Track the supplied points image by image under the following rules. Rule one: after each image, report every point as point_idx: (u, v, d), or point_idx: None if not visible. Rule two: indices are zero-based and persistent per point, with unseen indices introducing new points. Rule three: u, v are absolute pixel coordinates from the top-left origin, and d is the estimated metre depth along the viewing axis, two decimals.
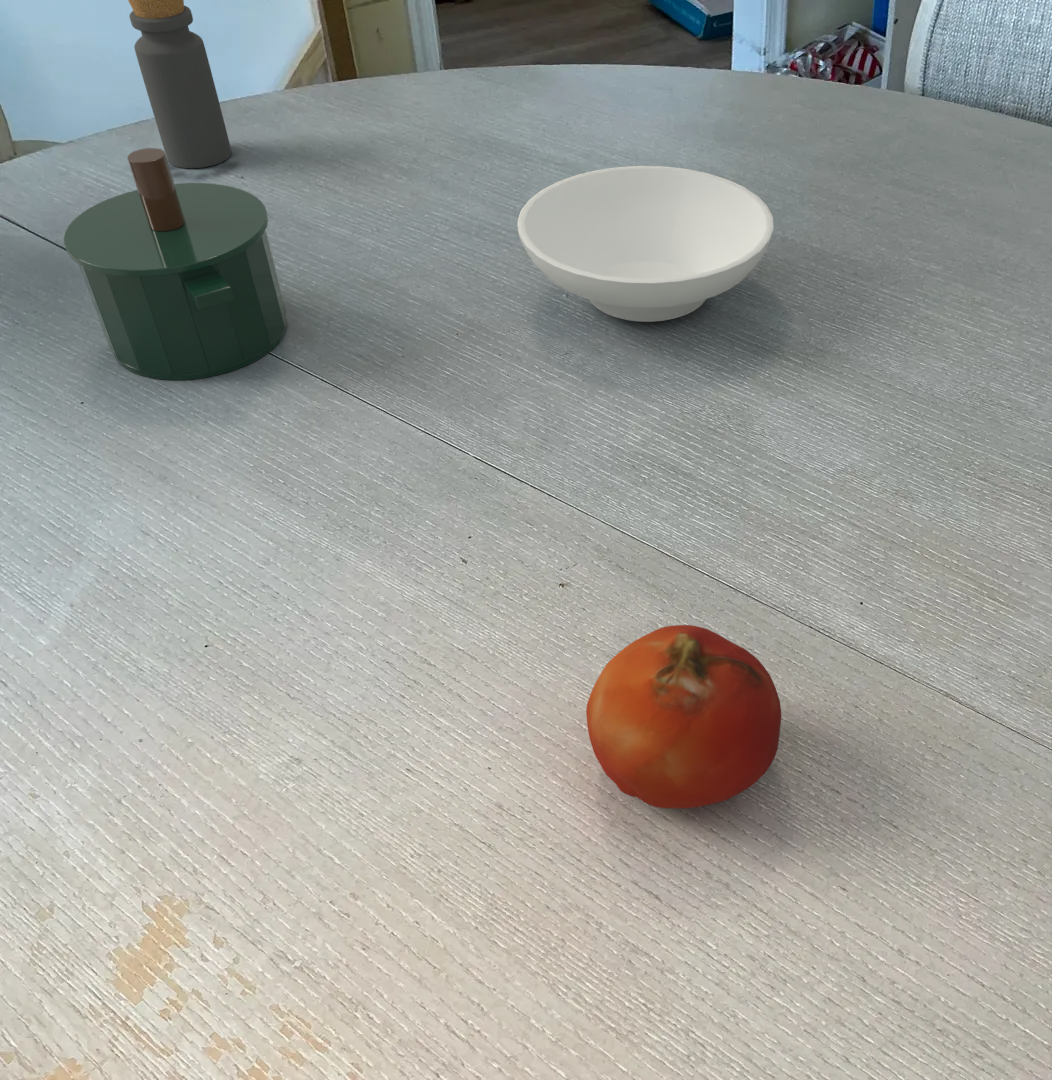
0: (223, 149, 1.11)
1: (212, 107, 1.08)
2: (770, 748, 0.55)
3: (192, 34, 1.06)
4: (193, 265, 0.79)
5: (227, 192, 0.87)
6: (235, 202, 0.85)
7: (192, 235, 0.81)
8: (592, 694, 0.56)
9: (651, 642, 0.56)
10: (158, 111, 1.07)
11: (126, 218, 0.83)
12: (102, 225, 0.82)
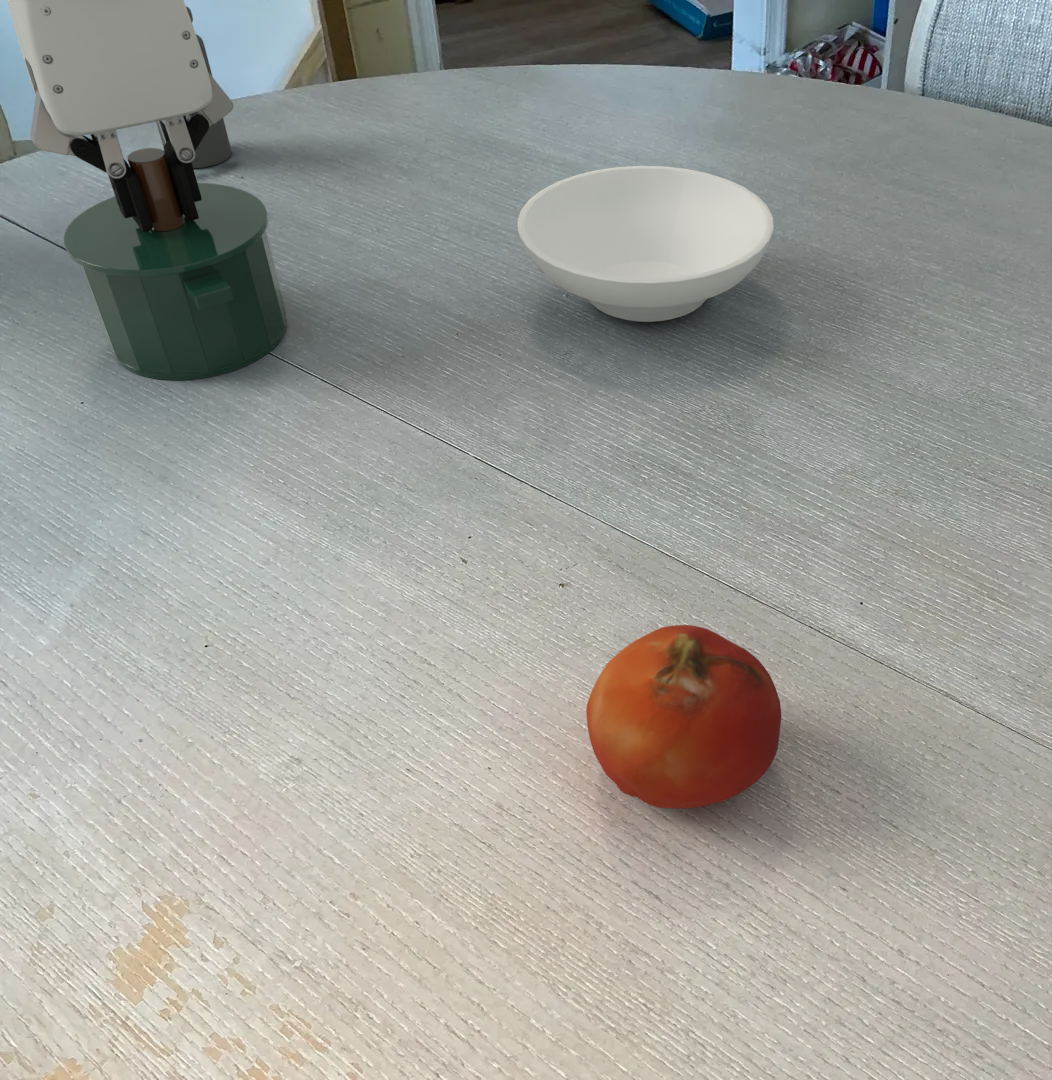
0: (223, 149, 1.11)
1: None
2: (770, 748, 0.55)
3: None
4: (193, 265, 0.79)
5: (227, 192, 0.87)
6: (235, 202, 0.85)
7: (192, 235, 0.81)
8: (592, 694, 0.56)
9: (651, 642, 0.56)
10: None
11: (126, 218, 0.83)
12: (102, 225, 0.82)
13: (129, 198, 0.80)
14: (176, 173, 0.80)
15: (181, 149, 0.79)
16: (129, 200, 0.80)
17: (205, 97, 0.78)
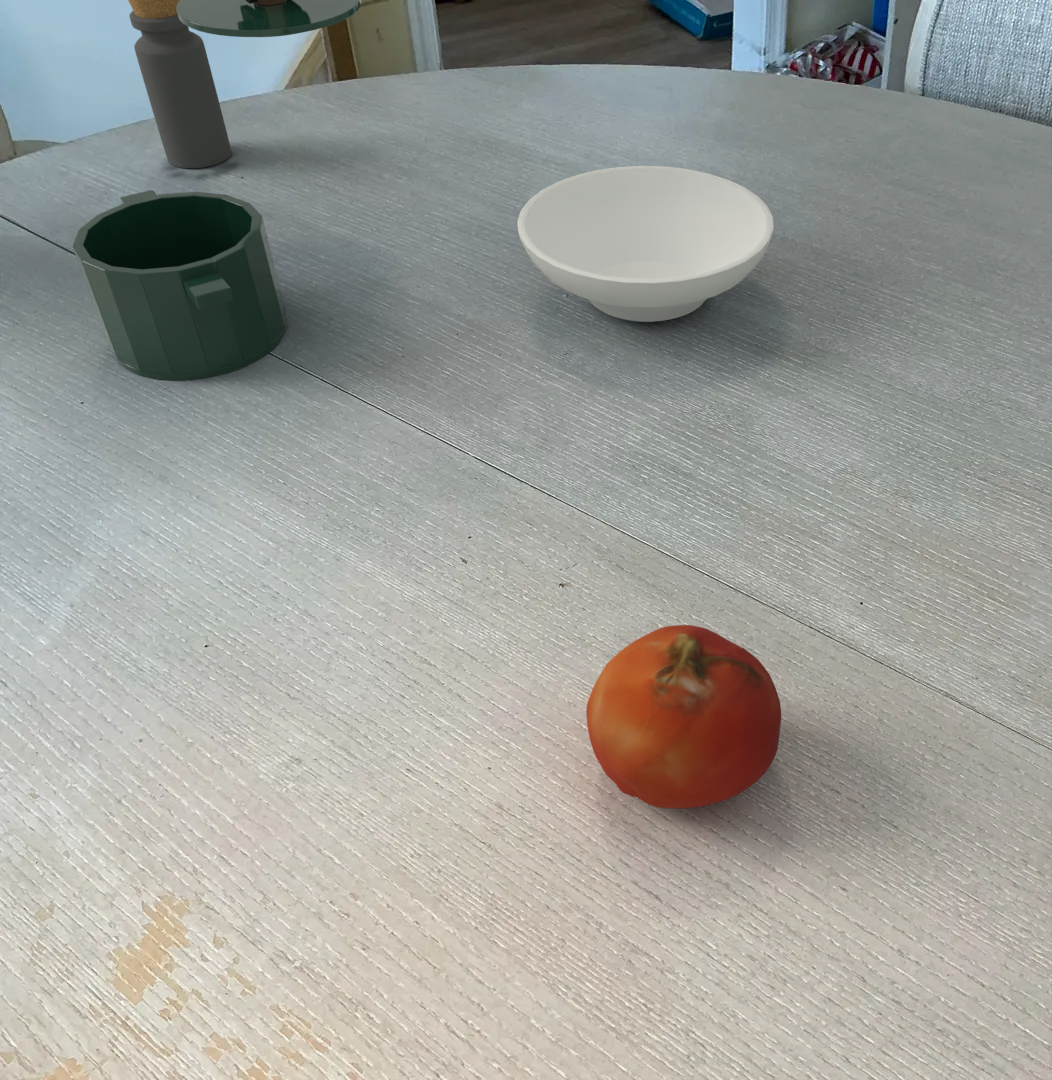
0: (223, 149, 1.11)
1: (212, 107, 1.08)
2: (770, 748, 0.55)
3: (192, 34, 1.06)
4: (298, 28, 0.86)
5: None
6: None
7: (293, 8, 0.88)
8: (592, 694, 0.56)
9: (651, 642, 0.56)
10: (158, 111, 1.07)
11: None
12: (210, 1, 0.89)
13: None
14: None
15: None
16: None
17: None
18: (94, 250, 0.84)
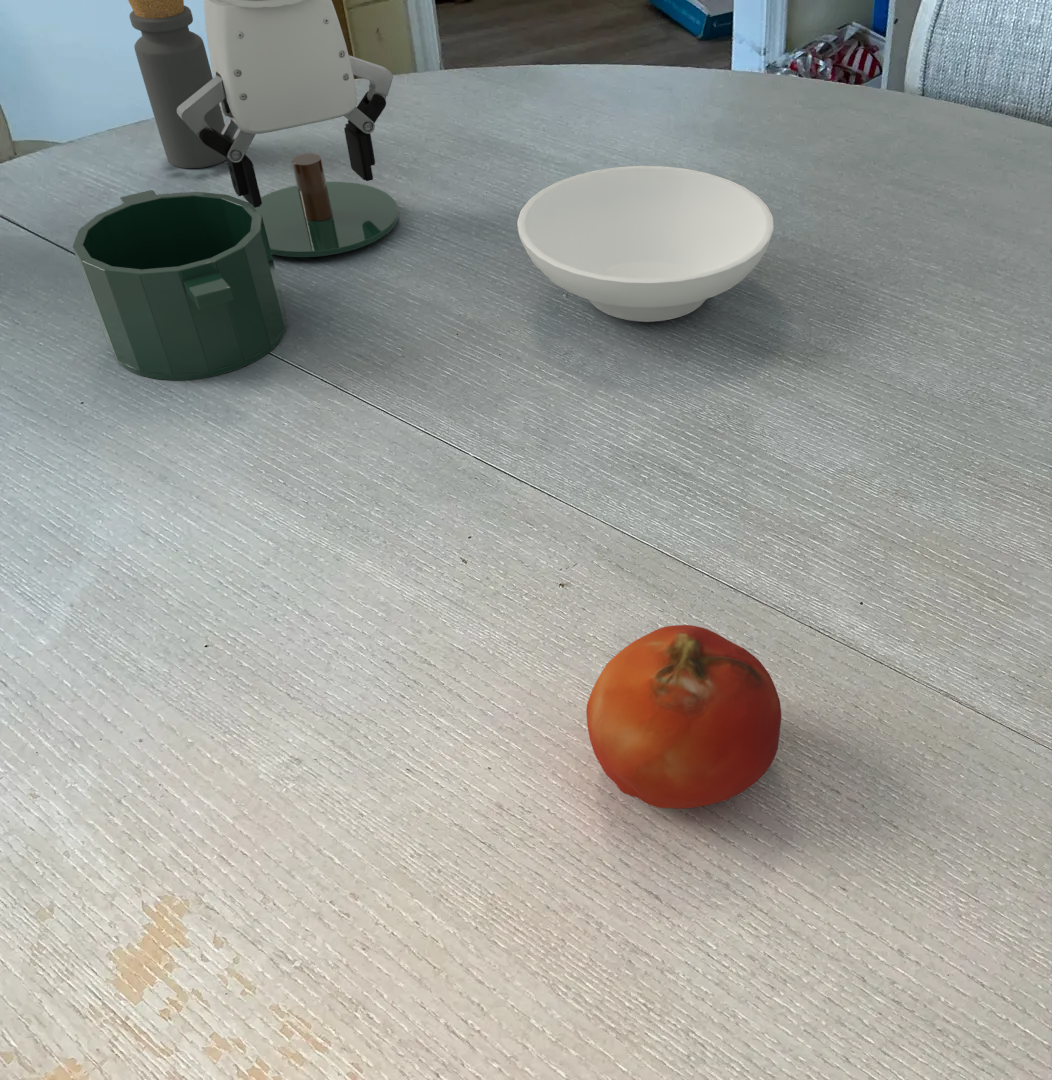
0: None
1: None
2: (770, 748, 0.55)
3: (192, 34, 1.06)
4: (345, 248, 0.97)
5: (362, 189, 1.05)
6: (370, 197, 1.04)
7: (340, 224, 1.00)
8: (592, 694, 0.56)
9: (651, 642, 0.56)
10: (158, 111, 1.07)
11: (284, 210, 1.02)
12: (266, 216, 1.01)
13: (243, 179, 0.95)
14: (359, 142, 0.99)
15: (363, 125, 0.98)
16: (243, 181, 0.95)
17: (352, 104, 0.96)
18: (94, 250, 0.84)
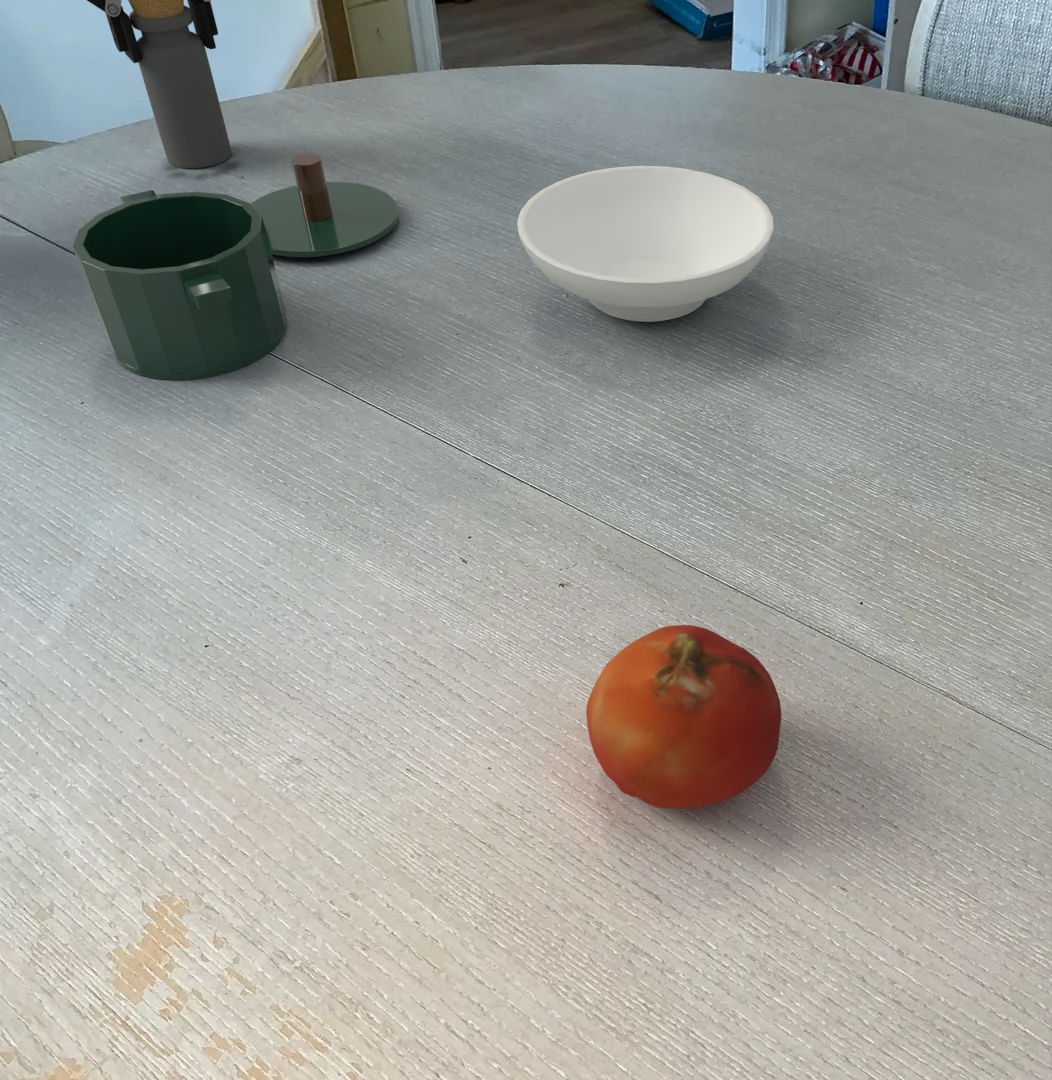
0: (223, 149, 1.11)
1: (212, 107, 1.08)
2: (770, 748, 0.55)
3: (192, 34, 1.06)
4: (345, 248, 0.97)
5: (362, 189, 1.05)
6: (370, 197, 1.04)
7: (340, 224, 1.00)
8: (592, 694, 0.56)
9: (651, 642, 0.56)
10: (158, 111, 1.07)
11: (284, 210, 1.02)
12: (266, 216, 1.01)
13: (123, 35, 1.02)
14: (199, 9, 1.04)
15: None
16: (123, 36, 1.02)
17: None
18: (94, 250, 0.84)
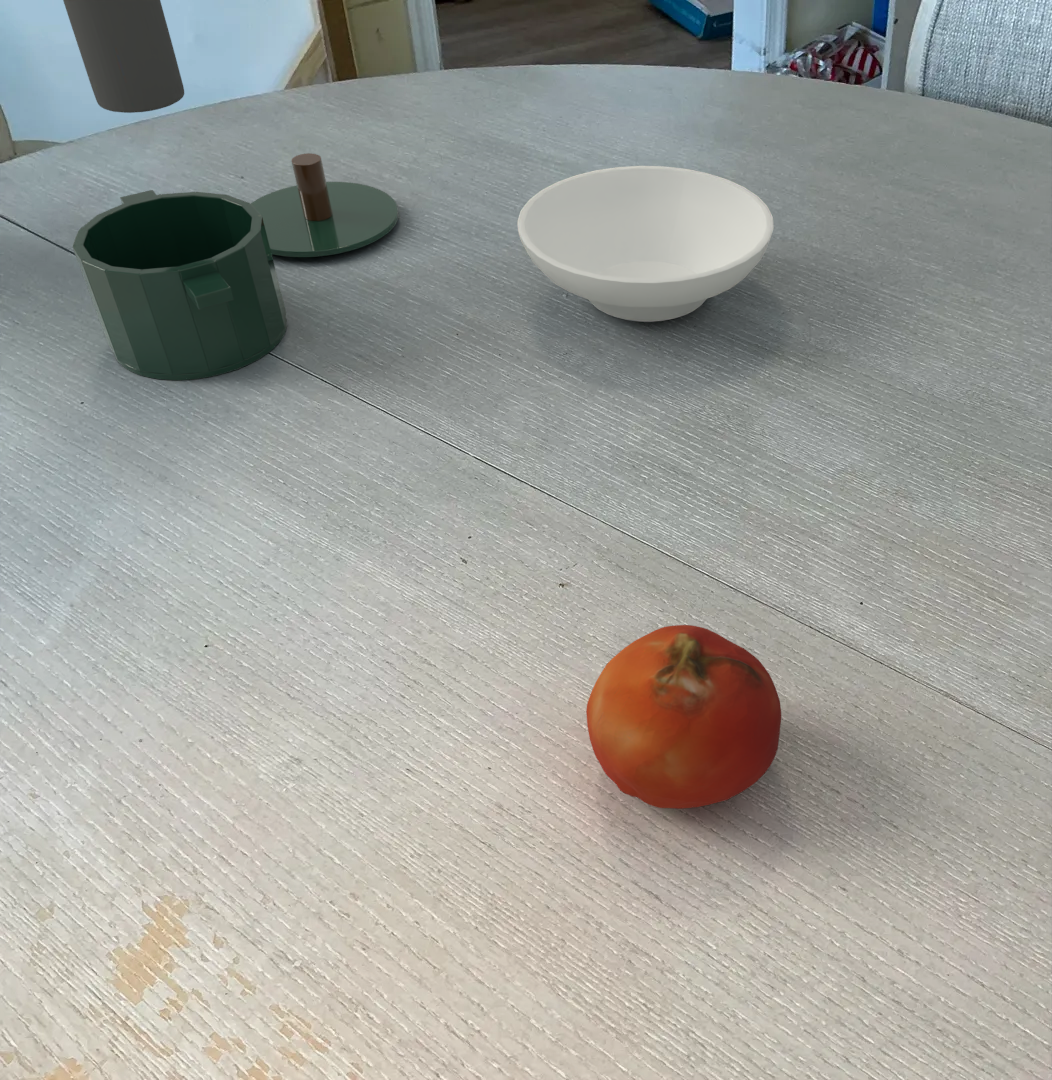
0: (173, 87, 0.82)
1: (156, 27, 0.79)
2: (770, 748, 0.55)
3: None
4: (345, 248, 0.97)
5: (362, 189, 1.05)
6: (370, 197, 1.04)
7: (340, 224, 1.00)
8: (592, 694, 0.56)
9: (651, 642, 0.56)
10: (80, 32, 0.78)
11: (284, 210, 1.02)
12: (266, 216, 1.01)
13: None
14: None
15: None
16: None
17: None
18: (94, 250, 0.84)
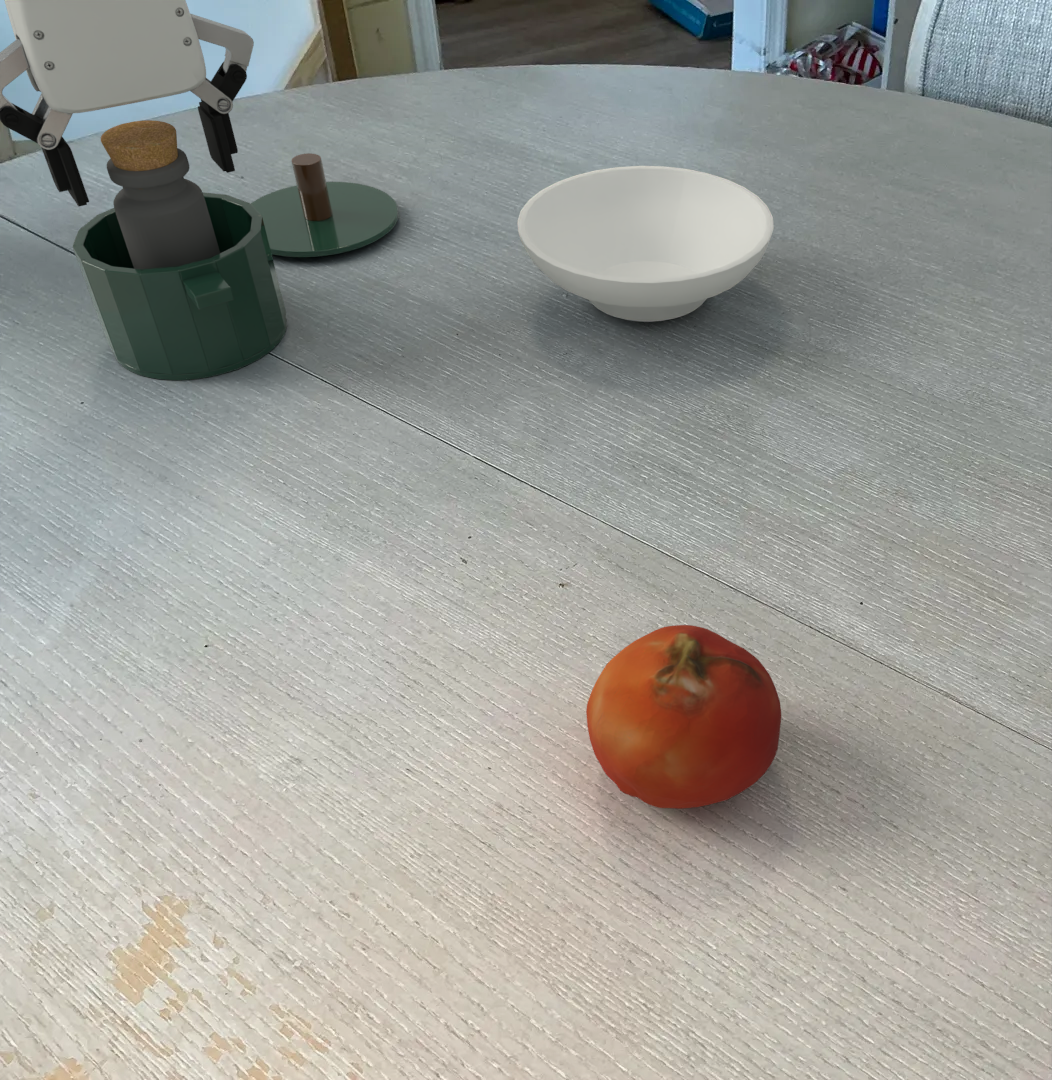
0: None
1: None
2: (770, 748, 0.55)
3: (188, 185, 0.82)
4: (345, 248, 0.97)
5: (362, 189, 1.05)
6: (370, 197, 1.04)
7: (340, 224, 1.00)
8: (592, 694, 0.56)
9: (651, 642, 0.56)
10: None
11: (284, 210, 1.02)
12: (266, 216, 1.01)
13: (63, 171, 0.76)
14: (213, 124, 0.80)
15: (217, 103, 0.79)
16: (63, 173, 0.76)
17: (199, 76, 0.77)
18: (94, 250, 0.84)
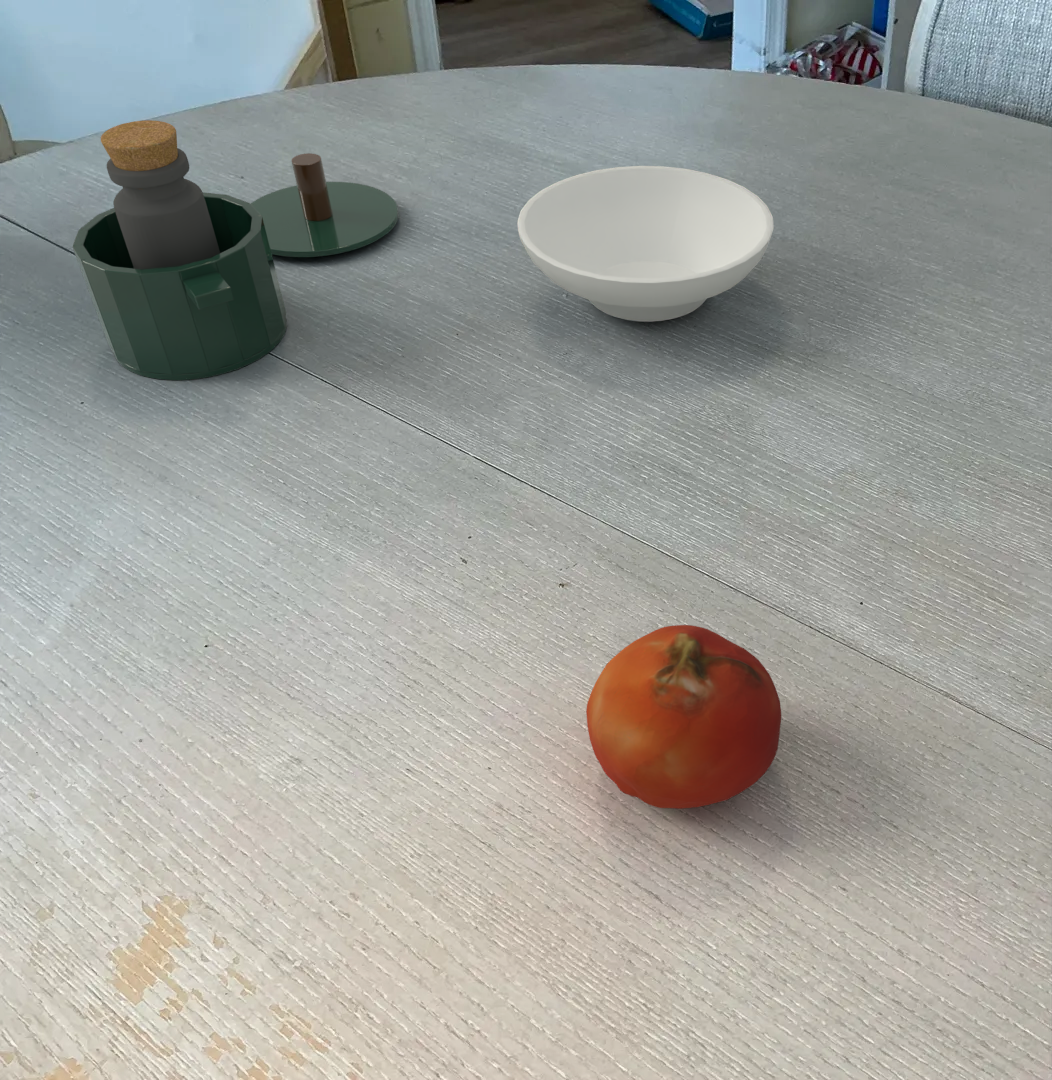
0: None
1: None
2: (770, 748, 0.55)
3: (188, 185, 0.82)
4: (345, 248, 0.97)
5: (362, 189, 1.05)
6: (370, 197, 1.04)
7: (340, 224, 1.00)
8: (592, 694, 0.56)
9: (651, 642, 0.56)
10: None
11: (284, 210, 1.02)
12: (266, 216, 1.01)
13: None
14: None
15: None
16: None
17: None
18: (94, 250, 0.84)
